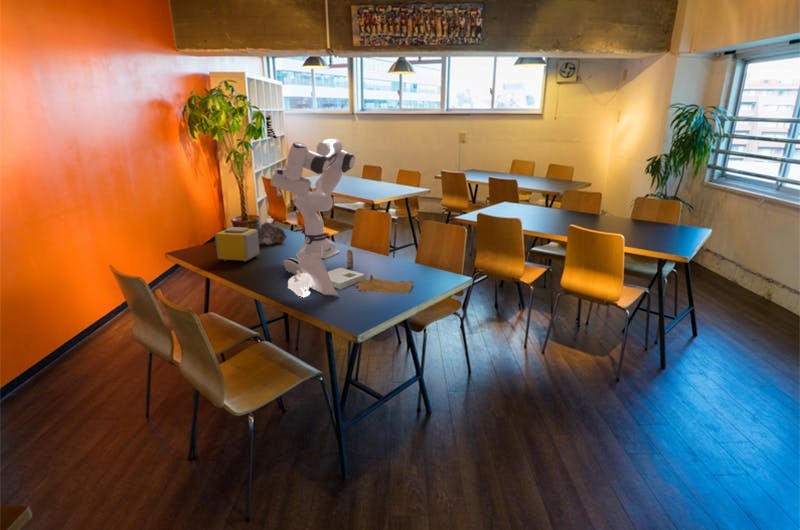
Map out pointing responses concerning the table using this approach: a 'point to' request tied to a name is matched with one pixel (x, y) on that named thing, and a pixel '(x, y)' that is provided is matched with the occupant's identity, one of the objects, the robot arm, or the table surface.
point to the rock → (271, 233)
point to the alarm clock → (237, 243)
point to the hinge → (292, 265)
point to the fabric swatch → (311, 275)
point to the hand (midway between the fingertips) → (287, 198)
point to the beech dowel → (350, 258)
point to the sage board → (344, 277)
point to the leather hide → (385, 286)
